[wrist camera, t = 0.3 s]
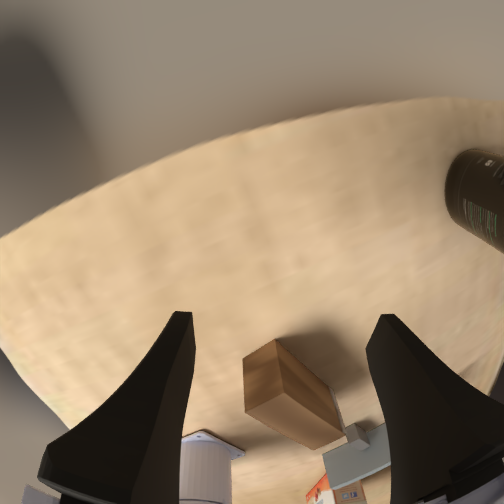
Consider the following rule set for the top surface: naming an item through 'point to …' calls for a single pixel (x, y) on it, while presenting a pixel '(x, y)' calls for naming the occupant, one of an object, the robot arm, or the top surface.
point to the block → (290, 397)
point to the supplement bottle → (478, 195)
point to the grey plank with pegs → (357, 456)
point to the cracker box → (336, 493)
